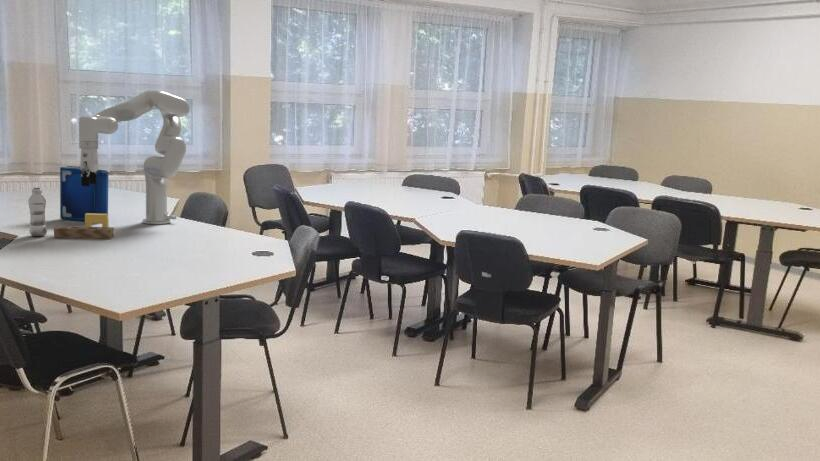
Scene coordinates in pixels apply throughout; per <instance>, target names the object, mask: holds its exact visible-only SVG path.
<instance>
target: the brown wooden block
mask: <svg viewBox="0 0 820 461" xmlns="http://www.w3.org/2000/svg"><path fill="white" fill-rule="evenodd" d="M114 228H115V227H113V226H109V227H102V226H92V227H85V226H82V225H81V226H78V225H77V226H76V225H75V226H74V225H57V226H55V227H54V228H53V238H54V239H80V240H81V239H83V240H85V239H86V240H111V239H113V238H114V236H115V232H114V231H115V229H114Z"/></svg>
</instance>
